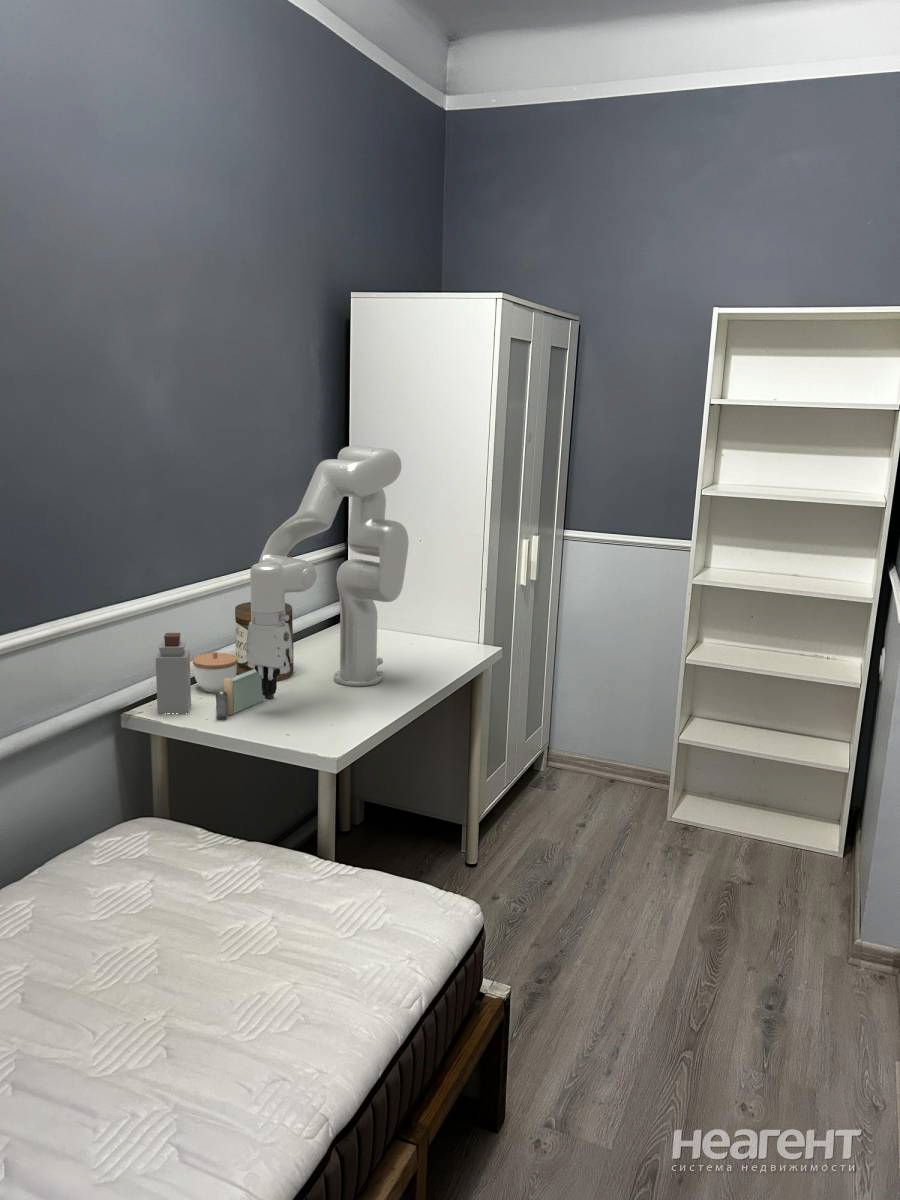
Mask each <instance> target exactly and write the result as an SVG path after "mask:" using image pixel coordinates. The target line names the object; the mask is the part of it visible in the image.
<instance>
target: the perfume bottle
mask: <svg viewBox="0 0 900 1200" xmlns="http://www.w3.org/2000/svg"><path fill="white" fill-rule="evenodd" d="M163 638H164V639H163V640H162V641H161V642H160V644H159V647H158V649H159V650H158V652H157V654H156V656H155V674H156V675H155V676H156V678H155V679H156V703H157V704H156V705H157V710H156V711H157V715H158V714H165V713H166V714H167V713H170V714H172V713H174V714H176V713H178V715H189V714H190V710H191V707H190V706H192V692H191V691H192V689H191V686H192V685H191V651H190V649H188V648H187V649H185V648H186V643H187V640H181V632H166V633H165V634H164V636H163ZM189 709H190V710H189ZM186 713H187V714H186ZM188 713H189V714H188Z"/></svg>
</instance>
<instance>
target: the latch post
mask: <svg viewBox="0 0 900 1200" xmlns="http://www.w3.org/2000/svg"><path fill="white" fill-rule="evenodd" d="M215 702H216V703H215V704H216V705H215V708H216V709H215V710H216V711H215V714H216V717H215V718H216V720H217V721H226V720H228V715H227V693H226V692H225V691H218V692H215Z"/></svg>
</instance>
